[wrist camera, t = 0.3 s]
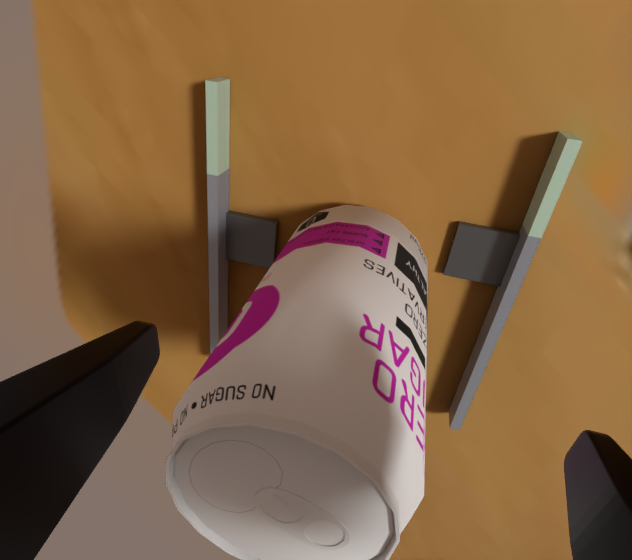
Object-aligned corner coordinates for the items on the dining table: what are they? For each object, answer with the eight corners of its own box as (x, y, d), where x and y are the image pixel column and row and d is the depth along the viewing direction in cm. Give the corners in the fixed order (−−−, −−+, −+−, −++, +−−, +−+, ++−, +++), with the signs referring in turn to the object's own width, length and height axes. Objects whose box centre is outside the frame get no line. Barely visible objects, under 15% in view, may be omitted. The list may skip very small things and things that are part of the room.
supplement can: (264, 277, 27) (114, 498, 14) (335, 170, 23) (211, 349, 10) (370, 348, 28) (319, 616, 15) (460, 257, 23) (493, 527, 11)
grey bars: (458, 412, 29) (459, 430, 27) (219, 352, 31) (210, 366, 30) (572, 133, 19) (583, 140, 18) (218, 77, 22) (205, 80, 20)
